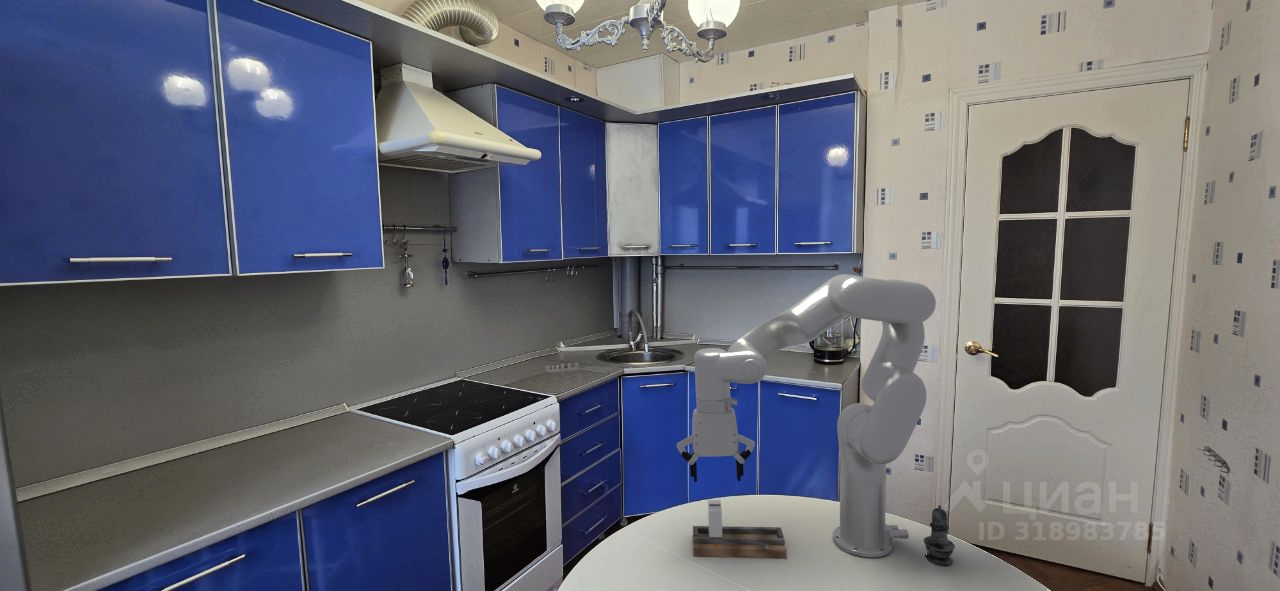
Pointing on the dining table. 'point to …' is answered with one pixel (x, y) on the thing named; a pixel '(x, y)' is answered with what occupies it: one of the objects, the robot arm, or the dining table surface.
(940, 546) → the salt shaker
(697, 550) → the wooden tray
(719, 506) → the block
